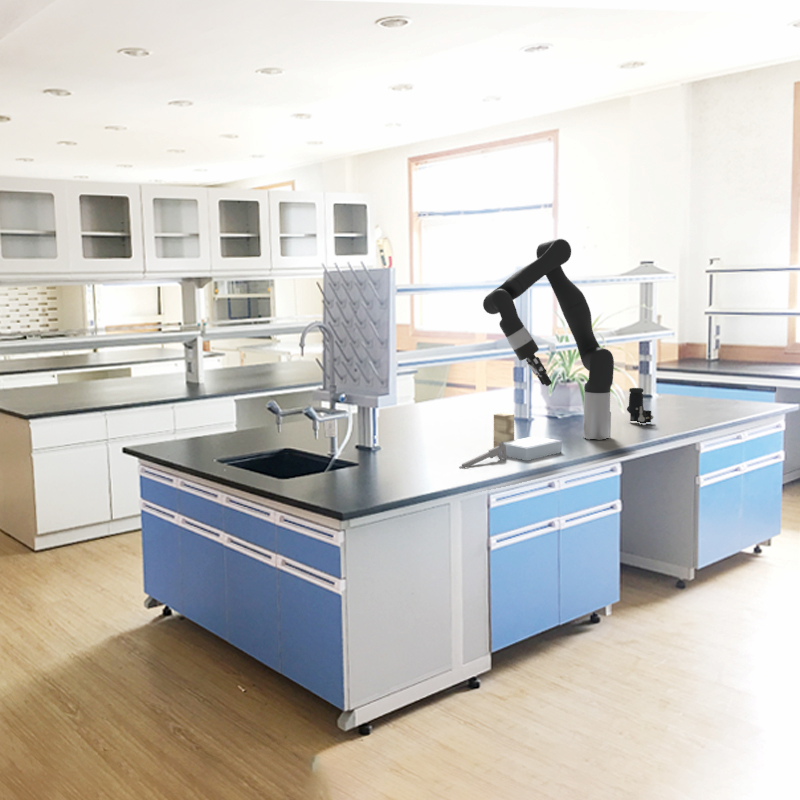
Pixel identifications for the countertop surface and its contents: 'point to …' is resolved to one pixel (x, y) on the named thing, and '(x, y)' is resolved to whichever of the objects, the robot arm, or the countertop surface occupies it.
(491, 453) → the caliper
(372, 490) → the countertop surface
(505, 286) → the robot arm
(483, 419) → the countertop surface
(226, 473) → the countertop surface
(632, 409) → the scope
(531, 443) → the white chamfered block
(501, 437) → the maple block
